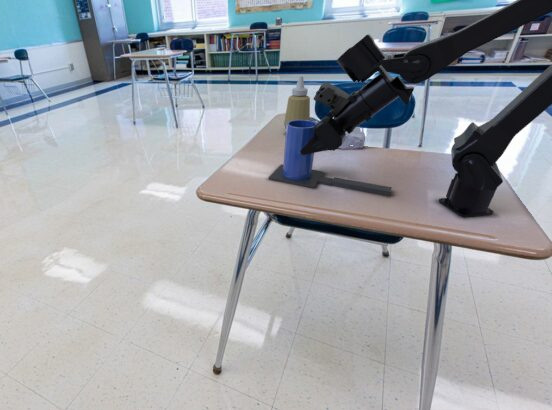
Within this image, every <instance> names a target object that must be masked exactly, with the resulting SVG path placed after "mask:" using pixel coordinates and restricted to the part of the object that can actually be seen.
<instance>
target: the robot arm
mask: <svg viewBox="0 0 552 410" xmlns="http://www.w3.org/2000/svg"><path fill="white" fill-rule="evenodd" d="M550 13H552V0H514V1H512V2H511V3H509V4H507V5H505V6H503V7H501V8H499V9H497V10H495V11H493V12H491V13H490V14H488V15H486V16H484V17H482V18H480V19H478V20H476V21H475V22H472V23H470V24H468V25H467V26H465V27H462V28H461V29H459V30H456V31H454V32H451V33H449V34H446V35H443V36H440V37H436V38H434V39H431V40H428V41H426V42H423V43H420V44H417V45H415V46H413V47H411V48H410V49H408V50H407V51H406V52H403V53H395V54H394V53H391V54H388V55H385V54H384V52H383V50H381V48H380V47H379V46H378V44H377V43H376V42H375V39H374V37H372V35H371V34H370V33H368V34H366V35H365V36H364V37H363V38H361V39H360V40H358V42H356V43H354V44H353V46H351V47H349V48H348V49H346V50H345V52H343V53H342V54H341V55H340V56H339V57H337V59H336V63H337V64H338V65H339V66H340V68H341V69H342V70H343V71H344V73H345V74H346V75H347V76H348V77H349V78H350V80H351V81H352V82H353V83H356V82H357V83H361V84H364V82H366V81H367V80H369V79H370V78H371V77H372V76H374V75H375V74H376V73H377V72H379V74H377V75H376V76H375V77H374V78H372V79H371V80H370V81H369V82H368V83H366V84H365V85H364V86H362V87H361V88H360V89H358V90H355V91H353V92H351V94H348V93H347V92H345V91H344V90H342V89H341V88H339V87H337V86H335V85H334V84H332V83H330V82H323V83H322V84H320V86H319V88H318V90H317V91H316V92H315V95H314V97H313V100H314V101H315V103H320V104H322V105H323V106H325V107H327V108H329V109H330V110H329V111H328V116H324V117H322V119H320V120H319V121H318V122H316V123H317V124H316V125H315V126H314V127H313V131H314V136H313V137H312V138H311V139H310V140H309V142H308V143H307V144H306V145H305V146H304V147H303V148H302V149H301V150H300V153H301V154H302V155H306V154H311V153H314V154H315V153H321V152H327V151H330V152H334V151H336V150H337V149H340V148H339V147H340V146H341V145H342V144H343V143H344V141H345V138H346V133H345V132H346V131H347V132H348V134H350V133H351V132H352V131H353V130H354V129H355V128H356V127H360V125H363V123H364V122H368V121H369V120H371V119H372V118H374V117H373V116H375V115H376V114H378V113H379V112H380V111H382V110H383V109H384V108H385V107H387V106H389V105H390V104H391V103H394V101H396V100H397V99H398V98H400V100H401V101H402V102H403V104H405V105H409V104H410V101H411V97H412V94H413V92H414V91H415V86H407V85H406V83H405V82H407V83H409V84H410V83H411V84H420V83H423V82H426V81H427V80H429V79H431V78H432V77H433V76H435V75H436V74H438V73H440V72H441V71H442V70H443V71H444V69H445V68H447V67H448V66H450V65H451V64H453V63H454V62H455V61H457V60H458V59H460V58H461V57H463V56H464V55H466V54H468V53H470V52H471V51H473V50H475V49H478V48H479V47H482V46H483V45H486V44H488V43H490V42H492V41H494V40H496V39H499V38H501V37H503V36H504V35H506V34H509V33H511V32H513V31H516V30H517V29H519V28H521V27H523V26H526V25H528V24H530V23H532V22H533V21H536V20H538V19H539V18H542V17H544V16H546V15H548V14H550ZM390 73H391V74H394V75H395V74H396V75H395V76H394V77H392V75H391V74H390ZM402 80H403V81H402ZM404 81H405V82H404ZM551 106H552V63H551V64H550V65H549V66H548V67H547V68H546V69H545V70H544V71H543V72H542V73H541V74H539V75H538V76H537V77H536V78H535V79H534V80H532V82H531V83H530V84H529V85H527V87H525V88H524V89H523V90H522V91H521V92H520V93H519V94H518V95H517V96H516V97H515V98H513V99H512V100H511V101H510V102H509V103H508V104H507V105H506V106H505V107H504V108H502V110H501V111H499V112H498V113H497V114H496V115H495V116H494V117H493V118H491V119H490V120H489V121H487V122H485V123H482V124H481V125H478V124H476V123H475V122H474V121H472V122H471V123H469V124H468V126H467V127H466V128H465V130H464V131H463V132H462V133H461V134H459V135H457V136H456V137H454V138H453V142H454V143H453V145H452V147H451V150H450V152H451V154H450V155H451V165H452V168H453V170H454V171H455V173H454V176H453V178H452V179H451V181H450V184H449V187H448V189H447V191H446V194H445V197H443V198H442V197H441V198H439V199H438V203H440V204H442V205H443V206H444V207H446V208H447V209H449V210H450V211H452V212H453V213H455V214H456V215H458V216H460V217H462V218H466V217H467V218H468V217H478V216H487V215H494V213H495V211H494V210H492V209H491V208H489V207H490V204H491V203H492V201H493V198H494V196H495V194H496V191H497V189H498V187H500V186H501V184H503V182H504V180H503V177H502V174H501V172H500V169H499V166H498V164H497V162H498V161H499V159H500V158H501V157H502V156H503V155H504V153H505V152H506V150H507V149H508V147H509V145H510V144H511V142H512V141H513V139H514V138H515V137H516V135H518V134H519V133H520V132H521V131H522V130H524V129H525V128H526V127H527V126H529V125H530V124H531V123H532V122H533V121H534V120H535V119H537V118H538V117H539V116H540V115H542V114H543V113H544V112H545V111H546V110H547V109H548V108H550V107H551Z"/></svg>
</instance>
